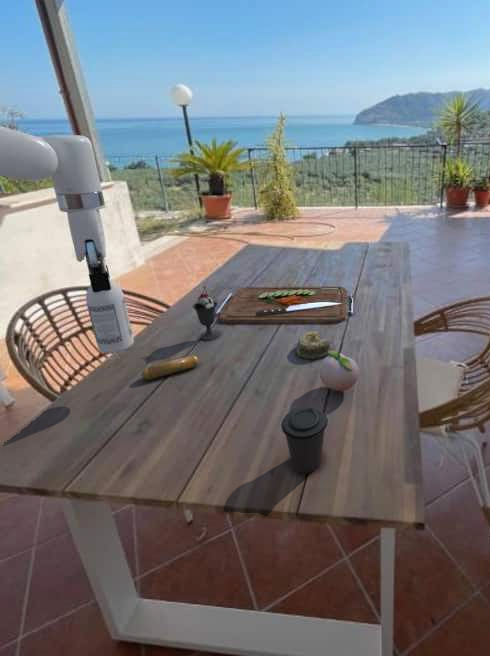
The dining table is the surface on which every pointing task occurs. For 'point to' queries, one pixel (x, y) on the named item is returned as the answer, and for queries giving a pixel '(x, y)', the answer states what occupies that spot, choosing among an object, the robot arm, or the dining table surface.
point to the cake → (313, 346)
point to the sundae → (206, 314)
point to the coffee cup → (305, 437)
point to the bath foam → (109, 318)
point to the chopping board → (286, 305)
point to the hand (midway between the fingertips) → (102, 286)
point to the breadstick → (169, 367)
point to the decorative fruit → (338, 371)
